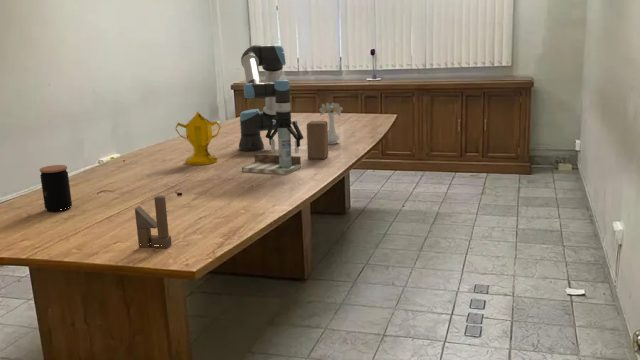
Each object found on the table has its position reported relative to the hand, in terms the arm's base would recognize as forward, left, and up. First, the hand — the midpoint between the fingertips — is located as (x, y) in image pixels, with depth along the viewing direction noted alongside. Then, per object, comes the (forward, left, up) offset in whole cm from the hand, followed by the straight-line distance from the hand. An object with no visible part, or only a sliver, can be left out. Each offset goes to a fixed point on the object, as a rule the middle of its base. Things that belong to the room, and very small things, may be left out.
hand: (285, 152), depth 326 cm
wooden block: (+4, +32, -9) cm, 34 cm away
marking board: (-8, -1, -9) cm, 12 cm away
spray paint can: (0, 0, -7) cm, 7 cm away
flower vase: (-5, +74, -9) cm, 75 cm away
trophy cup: (-55, +5, -9) cm, 56 cm away
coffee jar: (-62, -92, -9) cm, 111 cm away
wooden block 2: (+7, -117, -10) cm, 117 cm away
